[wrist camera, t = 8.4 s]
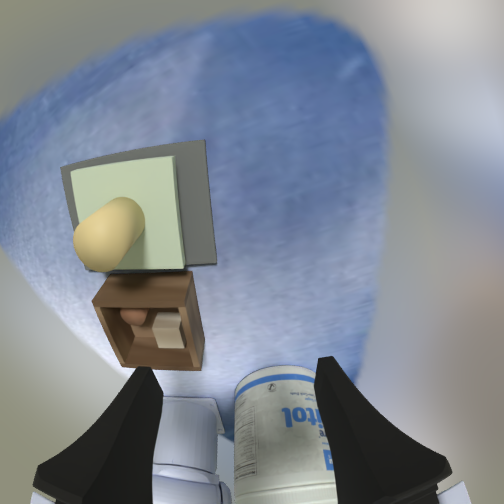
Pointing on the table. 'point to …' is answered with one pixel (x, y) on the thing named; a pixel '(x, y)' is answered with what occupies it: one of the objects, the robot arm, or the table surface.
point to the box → (152, 320)
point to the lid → (128, 215)
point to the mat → (189, 193)
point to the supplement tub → (281, 440)
